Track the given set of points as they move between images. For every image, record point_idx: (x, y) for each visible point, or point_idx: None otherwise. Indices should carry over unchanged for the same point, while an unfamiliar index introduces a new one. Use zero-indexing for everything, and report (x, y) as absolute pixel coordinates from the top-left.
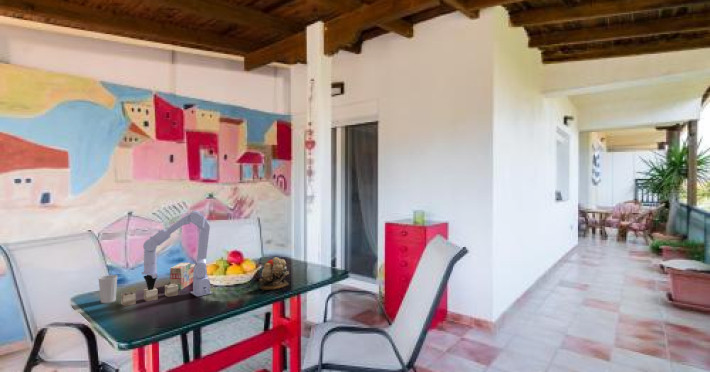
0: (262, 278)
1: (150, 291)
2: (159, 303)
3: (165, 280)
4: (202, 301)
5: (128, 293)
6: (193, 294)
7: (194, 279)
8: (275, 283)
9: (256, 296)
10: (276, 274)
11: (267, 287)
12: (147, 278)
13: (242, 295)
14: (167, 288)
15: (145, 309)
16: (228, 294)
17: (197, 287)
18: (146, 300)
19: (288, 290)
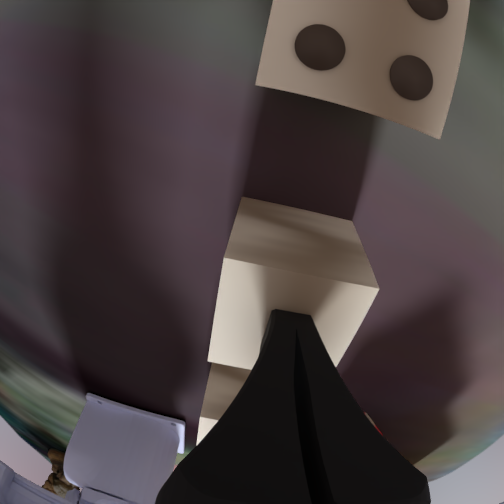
0: (67, 484)
1: (218, 295)
2: (89, 233)
3: (493, 423)
4: (16, 355)
5: (399, 35)
6: (132, 407)
7: (106, 485)
8: (52, 468)
9: (14, 416)
10: (42, 486)
11: (52, 456)
12: (164, 486)
13: (34, 420)
14: (218, 409)
15: (25, 93)
16: (62, 424)
17: (91, 439)
18: (256, 202)
19: (35, 448)
